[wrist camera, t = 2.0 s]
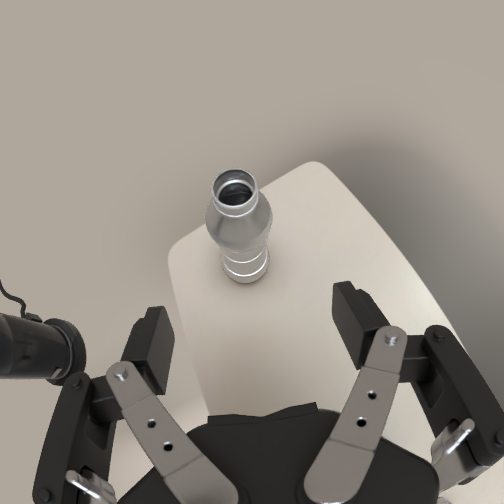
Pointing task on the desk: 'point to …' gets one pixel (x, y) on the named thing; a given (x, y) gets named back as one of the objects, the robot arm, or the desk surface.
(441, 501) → the white product box
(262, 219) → the silver bottle
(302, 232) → the desk surface
